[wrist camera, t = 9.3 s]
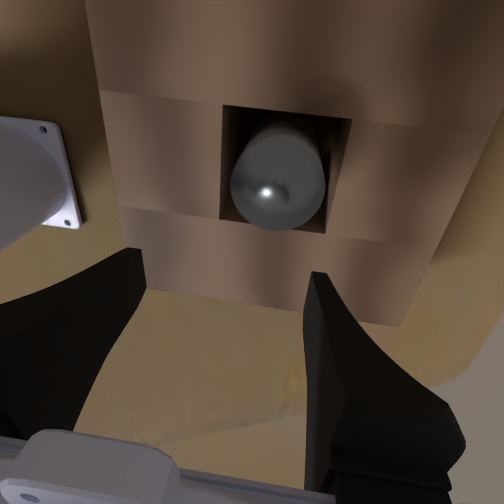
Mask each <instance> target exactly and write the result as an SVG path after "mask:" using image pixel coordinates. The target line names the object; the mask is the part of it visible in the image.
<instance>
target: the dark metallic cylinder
mask: <svg viewBox="0 0 504 504" xmlns="http://www.w3.org/2000/svg"><path fill="white" fill-rule="evenodd" d="M230 189H231V195H232V199H233V202H234V204H235V206H236V208H237V209H238V211H239V212H240V213H241V215H242V216H243V217H244V218H245V219H246V220H248V221H249V222H250V223H252V224H254V225H255V226H258V227H260V228H263V229H266V230H272V231H285V230H290V229H293V228H296V227H298V226H300V225H302V224H304V223H306V222H307V221H308V220H309V219H311V218H312V217H313V216H314V215H315V213H316V212H317V211H318V209H319V207H320V205H321V203H322V201H323V198H324V194H325V178H324V173H323V168H322V163H321V158H320V153H319V148H318V144H317V139H316V134H315V130H314V128H313V126H312V124H311V123H310V121H309V120H308V119H307V118H306V117H305V116H304V115H302V114H301V113H294V112H286V111H275V112H272V113H270V114H269V115H267V116H266V117H265V118H263V119H262V121H261V122H260V123H259V124H258V126H257V128H256V130H255V131H254V133H253V135H252V137H251V138H250V140H249V142H248V144H247V145H246V147H245V149H244V151H243V152H242V154H241V156H240V158H239V159H238V161H237V163H236V165H235V167H234V169H233V172H232V176H231V182H230Z"/></svg>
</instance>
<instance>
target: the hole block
mask: <svg viewBox="0 0 504 504" xmlns="http://www.w3.org/2000/svg"><path fill="white" fill-rule="evenodd" d="M84 2H85V8H86V14H87V20H88V26H89V33H90V39H91V45H92V51H93V57H94V64H95V70H96V76H97V82H98V88H99V95H100V101H101V107H102V113H103V119H104V126H105V132H106V138H107V144H108V150H109V157H110V163H111V169H112V175H113V182H114V188H115V194H116V200H117V206H118V213H119V219H120V225H121V231H122V237H123V244H124V249H125V248H127V247H130V248H138V249H142V256H143V263H144V270H145V277H146V284H147V287H146V288H148V289H154V290H161V291H167V292H174V293H180V294H187V295H193V296H200V297H206V298H212V299H219V300H225V301H232V302H238V303H245V304H251V305H258V306H264V307H271V308H277V309H284V310H290V311H296V312H303V309H304V304H305V299H306V294H307V289H308V285H309V280H310V275H311V271H316V272H323V273H327V274H328V276H329V278H330V279H331V281H332V283H333V285H334V287H335V289H336V290H337V292H338V294H339V295H340V297H341V299H342V300H343V302H344V303H345V305H346V306H347V308H348V309H349V311H350V312H351V314H352V315H353V317H354V318H355V319H356V321H361V322H368V323H374V324H380V325H387V326H393V327H399V326H400V324H401V322H402V320H403V318H404V316H405V314H406V311H407V309H408V307H409V305H410V303H411V301H412V299H413V297H414V295H415V293H416V291H417V288H418V286H419V284H420V282H421V280H422V278H423V276H424V274H425V272H426V270H427V267H428V265H429V263H430V261H431V259H432V257H433V255H434V253H435V251H436V249H437V247H438V244H439V242H440V240H441V238H442V236H443V234H444V232H445V230H446V228H447V226H448V224H449V221H450V219H451V217H452V215H453V213H454V211H455V209H456V207H457V205H458V203H459V200H460V198H461V196H462V194H463V192H464V190H465V188H466V186H467V184H468V182H469V180H470V177H471V175H472V173H473V171H474V169H475V167H476V165H477V163H478V161H479V159H480V157H481V154H482V152H483V150H484V148H485V146H486V144H487V142H488V140H489V138H490V136H491V133H492V131H493V129H494V127H495V125H496V123H497V121H498V119H499V117H500V115H501V113H502V110H503V108H504V0H84ZM239 106H242V107H251V108H259V109H268V110H277V111H286V112H294V113H303V114H312V115H321V116H329V117H338V122H337V127H336V131H335V136H334V140H333V145H332V149H331V154H330V159H329V163H328V168H327V172H326V177H325V194H324V198H323V201H322V203H321V205H320V207H319V209H318V211H317V212H316V213H315V215H314V216H313V217H312V218H311V219H309V220H308V221H307V222H306V223H304V224H302V225H300V226H298V227H296V228H293V229H290V230H285V231H272V230H266V229H263V228H260V227H258V226H255V225H254V224H252V223H250V222H249V221H248V220H246V219H245V218H244V217H243V216H242V215H241V213H240V212H239V211H238V209H237V208H236V206H235V204H234V202H233V199H232V195H231V189H230V182H231V176H232V172H233V169H234V167H235V165H236V155H237V138H238V120H239Z"/></svg>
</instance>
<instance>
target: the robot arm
mask: <svg viewBox="0 0 504 504" xmlns="http://www.w3.org/2000/svg"><path fill="white" fill-rule="evenodd" d="M43 126H44V127H45V128H46V130H47V132H45V131H44V129H43ZM68 221H70V223H69V222H68ZM40 224H44V225H51V226H58V227H65V228H72V229H78V228H80V227H81V226H82V220H81V215H80V211H79V207H78V203H77V198H76V194H75V190H74V186H73V181H72V177H71V173H70V169H69V164H68V160H67V156H66V152H65V147H64V143H63V139H62V135H61V130H60V128H59V127H58V125H57V124H55V123H53V122H48V121H40V120H32V119H23V118H15V117H7V116H0V251H1V250H3V249H4V248H6V247H7V246H9V245H10V244H12V243H13V242H15V241H16V240H18V239H19V238H21V237H22V236H24V235H25V234H27V233H28V232H30V231H31V230H33V229H34V228H36V227H37V226H39V225H40ZM146 287H147V284H146V277H145V270H144V263H143V256H142V249H138V248H130V247H127V248H125V249H123V250H121V251H119V252H117V253H115V254H113V255H111V256H109V257H108V258H106V259H104V260H102V261H100V262H98V263H97V264H95V265H93V266H91V267H89V268H87V269H85V270H84V271H82V272H79V273H77V274H75V275H73V276H71V277H69V278H67V279H65V280H63V281H61V282H59V283H57V284H54V285H52V286H50V287H47V288H45V289H42V290H40V291H37V292H35V293H32V294H30V295H27V296H24V297H21V298H18V299H15V300H12V301H9V302H6V303H3V304H0V504H452V502H451V499H450V496H449V494H448V491H451V490H452V486H451V482H450V480H449V477H448V474H447V472H448V471H449V470H450V468H451V467H452V466H453V465H454V464H455V463H456V462H457V461H458V459H459V458H460V457H461V456H462V454H463V452H464V450H465V448H466V441H465V438H464V436H463V434H462V431H461V429H460V426H459V424H458V422H457V420H456V418H455V416H454V414H453V412H452V410H451V408H450V406H449V404H448V403H447V402H445V401H444V400H442V399H441V398H440V397H438V396H437V395H435V394H434V393H433V392H431V391H430V390H429V389H427V388H426V387H424V386H423V385H422V384H420V383H419V382H418V381H416V380H415V379H414V378H413V377H412V376H410V375H409V374H408V373H407V372H405V371H404V370H403V369H402V368H401V367H400V366H399V365H397V364H396V363H395V362H394V361H393V360H392V359H391V358H390V357H389V356H388V355H387V354H386V353H385V352H383V351H382V350H381V349H380V348H379V347H378V345H377V344H376V343H375V342H374V341H373V340H372V339H371V338H370V337H369V336H368V334H367V333H366V332H365V331H364V330H363V328H362V327H361V326H360V325H359V323H358V322H357V321H356V319H355V318H354V317H353V315H352V314H351V312H350V311H349V309H348V308H347V306H346V305H345V303H344V302H343V300H342V299H341V297H340V295H339V294H338V292H337V290H336V289H335V287H334V285H333V283H332V281H331V279H330V278H329V276H328V274H327V273H323V272H316V271H311V275H310V280H309V285H308V289H307V294H306V299H305V304H304V309H303V340H304V352H305V363H306V375H307V428H306V429H307V430H306V460H305V482H304V490H302V489H296V488H290V487H285V486H279V485H273V484H268V483H262V482H256V481H250V480H245V479H240V478H234V477H228V476H223V475H217V474H211V473H206V472H200V471H194V470H189V469H183V468H178V467H177V465H176V464H175V462H174V461H173V459H172V457H171V456H169V455H167V454H166V453H164V452H163V451H161V450H160V449H158V448H154V447H151V446H148V445H145V444H141V443H136V442H130V441H124V440H119V439H113V438H107V437H101V436H96V435H90V434H84V433H78V432H73V429H74V427H75V424H76V422H77V419H78V417H79V415H80V412H81V410H82V408H83V405H84V403H85V401H86V399H87V396H88V394H89V392H90V390H91V388H92V386H93V383H94V381H95V379H96V377H97V375H98V373H99V371H100V369H101V367H102V365H103V363H104V361H105V359H106V357H107V355H108V353H109V352H110V350H111V348H112V347H113V345H114V344H115V342H116V340H117V339H118V337H119V336H120V334H121V333H122V331H123V330H124V328H125V326H126V325H127V323H128V322H129V320H130V319H131V317H132V315H133V314H134V312H135V311H136V309H137V307H138V305H139V303H140V301H141V299H142V297H143V294H144V292H145V290H146Z"/></svg>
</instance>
